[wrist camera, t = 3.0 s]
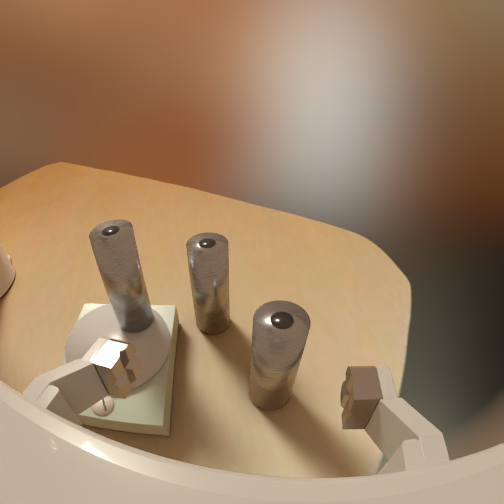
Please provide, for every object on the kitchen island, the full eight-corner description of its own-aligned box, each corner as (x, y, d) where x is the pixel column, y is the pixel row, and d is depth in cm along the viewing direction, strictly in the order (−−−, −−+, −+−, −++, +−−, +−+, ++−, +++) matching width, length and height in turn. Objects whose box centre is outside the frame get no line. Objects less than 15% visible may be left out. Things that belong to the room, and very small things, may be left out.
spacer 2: (195, 334, 35) (184, 255, 28) (197, 309, 39) (188, 232, 32) (230, 333, 35) (228, 254, 29) (229, 308, 39) (227, 231, 32)
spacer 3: (250, 411, 26) (256, 344, 20) (247, 377, 30) (250, 301, 23) (292, 408, 27) (316, 339, 20) (286, 374, 30) (303, 298, 24)
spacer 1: (115, 332, 30) (82, 243, 23) (123, 305, 33) (98, 220, 26) (150, 333, 30) (125, 242, 23) (156, 306, 34) (137, 218, 27)
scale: (60, 419, 22) (45, 404, 20) (91, 318, 35) (83, 300, 33) (169, 435, 23) (161, 423, 21) (179, 321, 37) (175, 301, 34)
